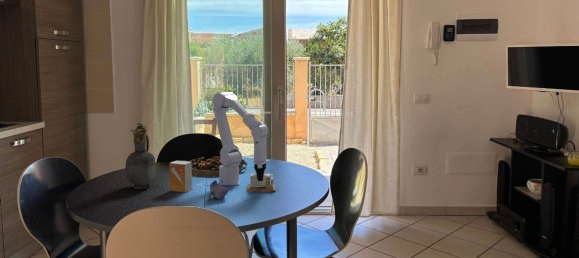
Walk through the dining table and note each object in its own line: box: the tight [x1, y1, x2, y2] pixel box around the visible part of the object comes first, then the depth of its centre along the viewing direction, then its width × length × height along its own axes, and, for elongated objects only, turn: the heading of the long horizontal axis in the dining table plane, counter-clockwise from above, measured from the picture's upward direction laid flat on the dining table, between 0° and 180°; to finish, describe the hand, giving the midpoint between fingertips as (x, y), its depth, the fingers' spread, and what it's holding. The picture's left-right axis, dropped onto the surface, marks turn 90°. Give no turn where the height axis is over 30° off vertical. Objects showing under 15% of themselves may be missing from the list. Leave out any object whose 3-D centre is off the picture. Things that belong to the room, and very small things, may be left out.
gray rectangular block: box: [249, 173, 271, 186], centre depth 225 cm, size 9×4×5 cm, turn 92°
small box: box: [168, 160, 193, 193], centre depth 221 cm, size 8×6×13 cm
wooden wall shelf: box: [246, 173, 276, 193], centre depth 225 cm, size 13×11×6 cm
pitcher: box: [125, 122, 157, 190], centre depth 226 cm, size 11×19×30 cm, turn 178°
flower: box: [207, 179, 229, 202], centre depth 207 cm, size 9×8×10 cm
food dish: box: [189, 155, 248, 178], centre depth 263 cm, size 35×33×8 cm
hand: (260, 180), depth 225 cm, fingers closed on gray rectangular block, 3 cm apart
